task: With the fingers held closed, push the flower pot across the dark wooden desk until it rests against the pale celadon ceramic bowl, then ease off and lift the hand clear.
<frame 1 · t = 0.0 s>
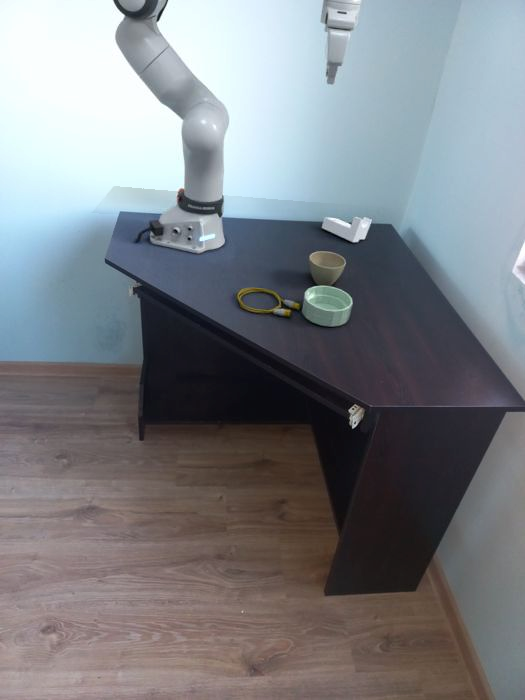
hand: (329, 80, 135), 48 cm above the table, tool pointing down, fingers open, 8 cm apart
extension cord: (265, 305, 137), on the table
bowl: (325, 314, 136), on the table
flower pot: (323, 282, 150), on the table
bracket: (344, 234, 178), on the table
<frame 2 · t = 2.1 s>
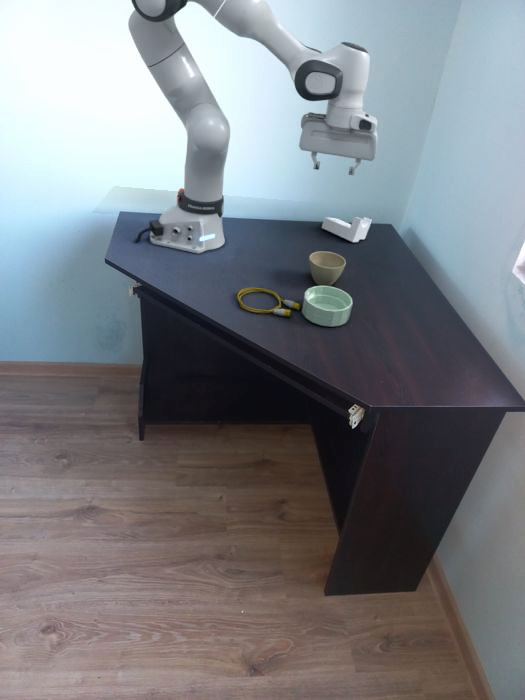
hand: (333, 171, 143), 27 cm above the table, tool pointing down, fingers open, 8 cm apart
nothing on the table moved.
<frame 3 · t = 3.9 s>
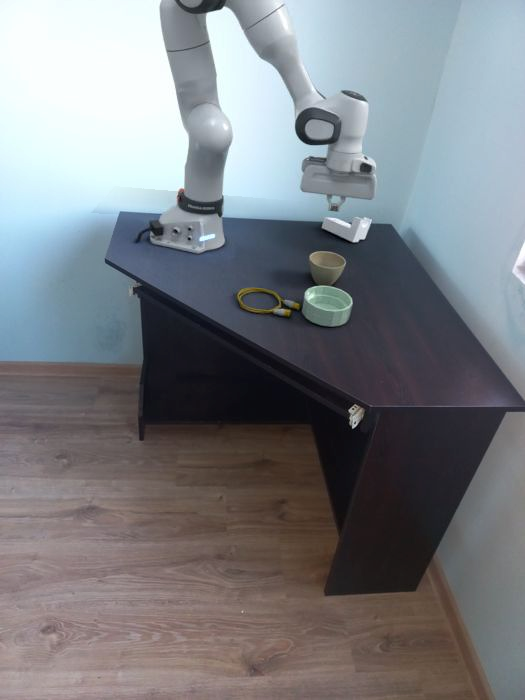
hand: (333, 210, 148), 17 cm above the table, tool pointing down, fingers closed
nothing on the table moved.
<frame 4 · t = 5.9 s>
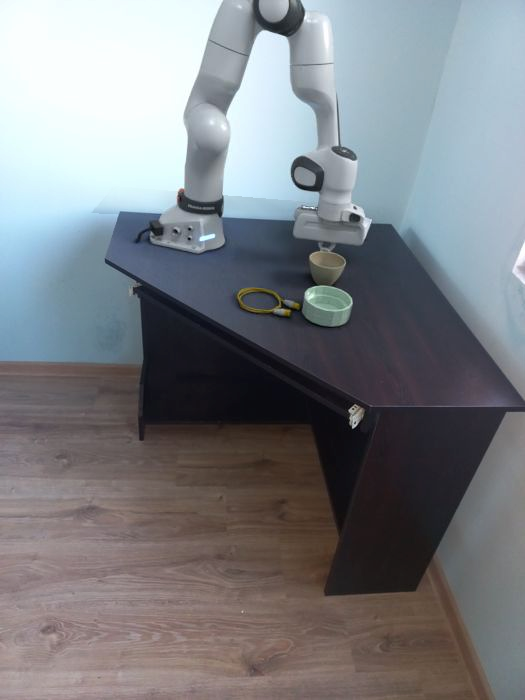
hand: (324, 254, 156), 4 cm above the table, tool pointing down, fingers closed
nothing on the table moved.
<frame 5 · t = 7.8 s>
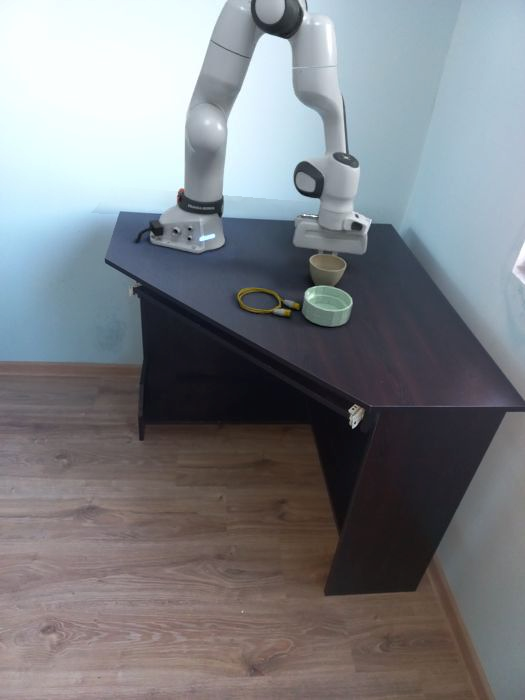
hand: (325, 263, 151), 4 cm above the table, tool pointing down, fingers closed, pressing on flower pot
flower pot: (323, 285, 149), on the table, touching gripper
everything else where it was.
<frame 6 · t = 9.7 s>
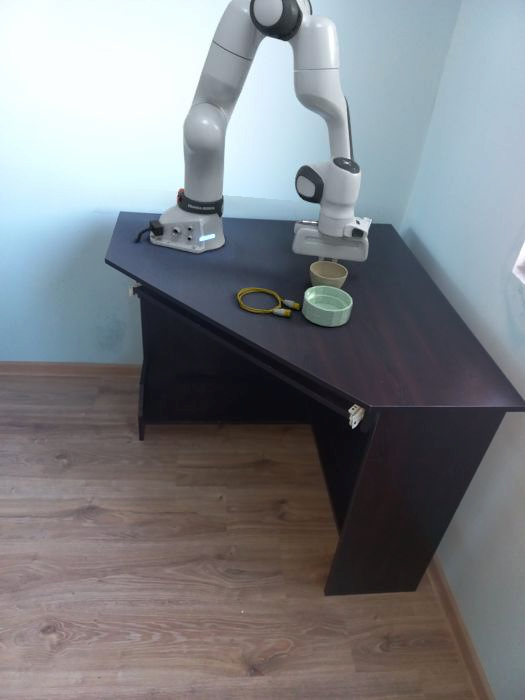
hand: (325, 270, 148), 4 cm above the table, tool pointing down, fingers closed
flower pot: (324, 293, 145), on the table
everything else where it was.
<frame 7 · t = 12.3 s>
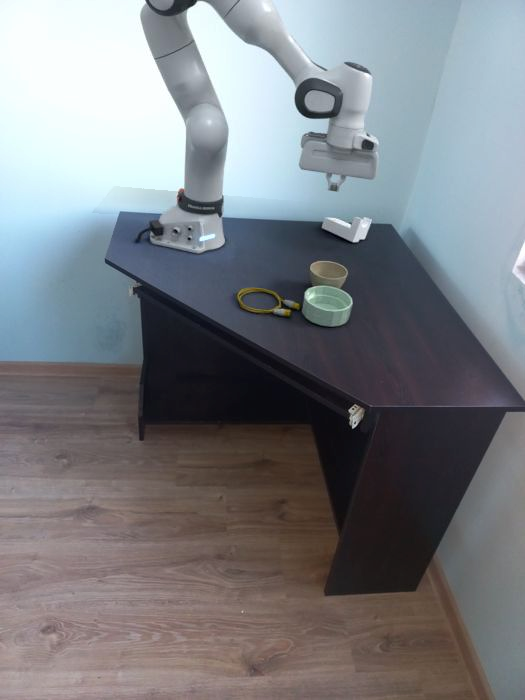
hand: (332, 190, 142), 24 cm above the table, tool pointing down, fingers closed
nothing on the table moved.
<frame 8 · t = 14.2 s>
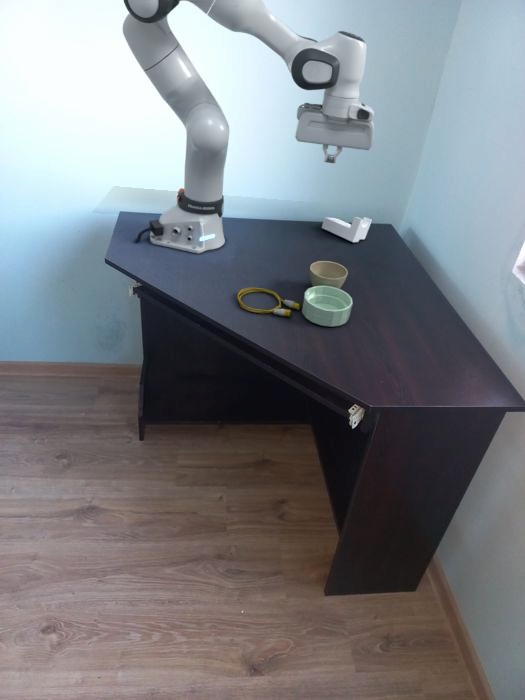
hand: (329, 162, 143), 29 cm above the table, tool pointing down, fingers closed
nothing on the table moved.
at the end: flower pot 11.1 cm from the bowl (horizontally); flower pot moved 5.9 cm from its start; flower pot tilted 0° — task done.
